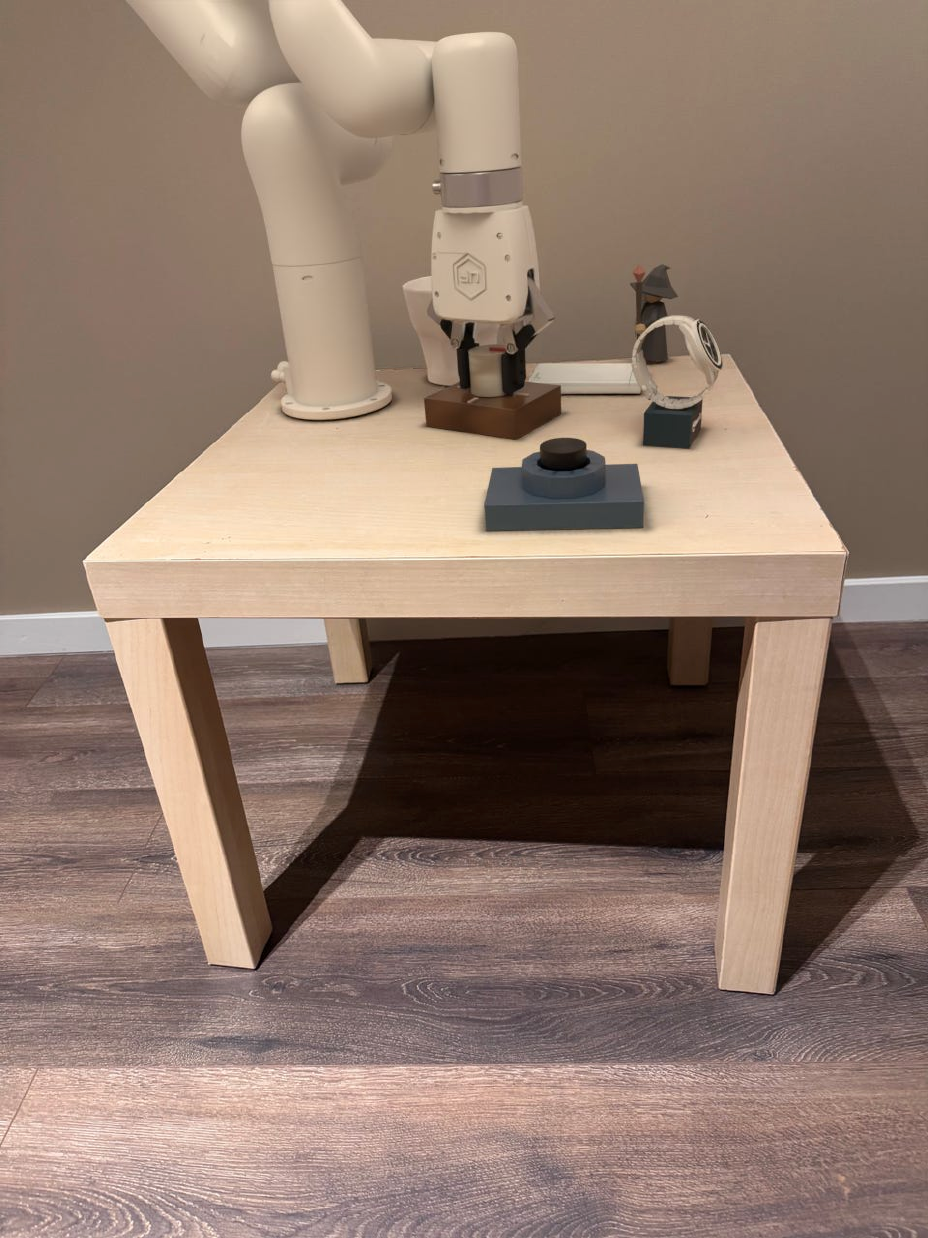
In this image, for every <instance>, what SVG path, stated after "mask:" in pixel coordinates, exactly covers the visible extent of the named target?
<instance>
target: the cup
mask: <svg viewBox="0 0 928 1238" xmlns="http://www.w3.org/2000/svg"><path fill="white" fill-rule="evenodd" d="M401 287H402V291H403V296H404V299H405V304H406V308H407V312H408V316H409V321H410V322H411V325H412V326H413V329H414V330H415V332H416V335H418V339H419V342H420V346H421V350H422V353H423V358H424V362H425V366H426V375H427V380H428V382H429V383H431V384H433V385H438V386H443V387H444V386H445V387H449V386H451V385H453V384H456V383H458V382H460V379H459V375H458V364H457V350H456V349H454V348H453V347H452V346H451V343H450V341H451V340H450V339H449V338H448V336H447V335H446V334H445V333H444V332H443V330H442V329H441V326H440V325H438V324H437V323H436V322H435V321H434V320H433V319H432V318H430V317H429V316H428V314H427V308H428V306H429V304H430V302H431V300H432V279H431V275H429V276H422V277H419V278H414V279H412V280H408V281H406V283H403V284H402V286H401ZM500 329H501V328H500V324H489V323H477V328H476V335H475V343H479V346H482V345H492V344H498V335H499V330H500Z"/></svg>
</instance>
